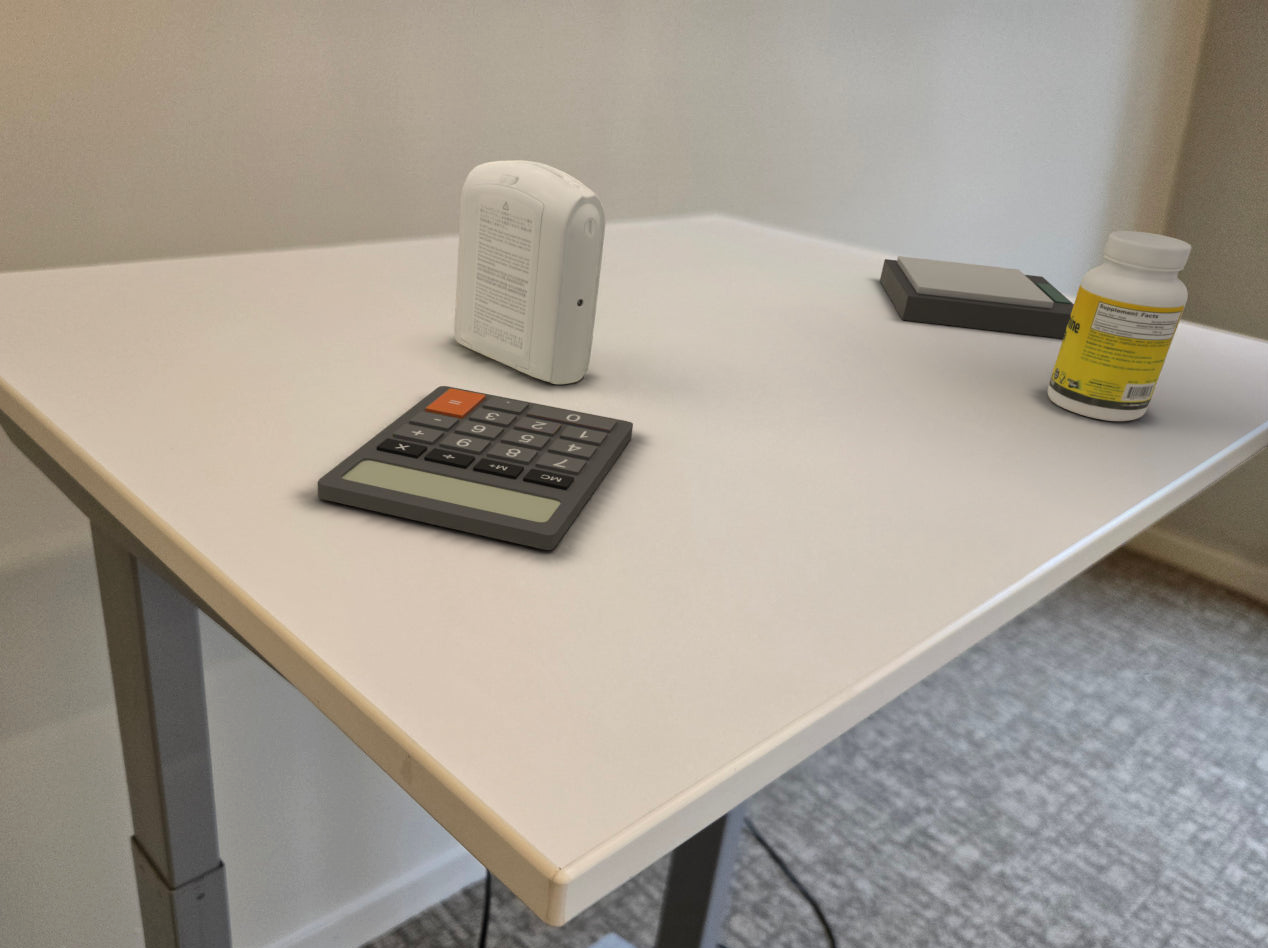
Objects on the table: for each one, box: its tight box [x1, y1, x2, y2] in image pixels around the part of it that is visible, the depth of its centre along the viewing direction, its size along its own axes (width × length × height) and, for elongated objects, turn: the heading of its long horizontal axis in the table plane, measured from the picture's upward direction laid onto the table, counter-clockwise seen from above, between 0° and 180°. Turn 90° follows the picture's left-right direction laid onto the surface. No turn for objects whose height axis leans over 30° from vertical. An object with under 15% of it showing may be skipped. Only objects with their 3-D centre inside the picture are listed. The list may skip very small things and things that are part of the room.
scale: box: [879, 255, 1074, 340], centre depth 91 cm, size 14×13×3 cm
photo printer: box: [453, 159, 607, 385], centre depth 67 cm, size 10×4×12 cm, turn 45°
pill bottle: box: [1047, 230, 1192, 422], centre depth 69 cm, size 6×6×11 cm
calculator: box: [317, 385, 634, 551], centre depth 55 cm, size 12×1×15 cm
